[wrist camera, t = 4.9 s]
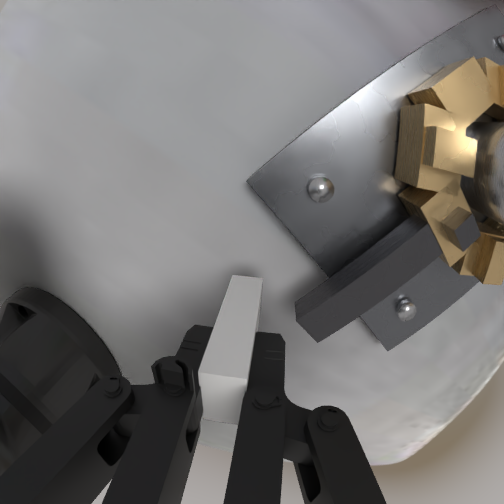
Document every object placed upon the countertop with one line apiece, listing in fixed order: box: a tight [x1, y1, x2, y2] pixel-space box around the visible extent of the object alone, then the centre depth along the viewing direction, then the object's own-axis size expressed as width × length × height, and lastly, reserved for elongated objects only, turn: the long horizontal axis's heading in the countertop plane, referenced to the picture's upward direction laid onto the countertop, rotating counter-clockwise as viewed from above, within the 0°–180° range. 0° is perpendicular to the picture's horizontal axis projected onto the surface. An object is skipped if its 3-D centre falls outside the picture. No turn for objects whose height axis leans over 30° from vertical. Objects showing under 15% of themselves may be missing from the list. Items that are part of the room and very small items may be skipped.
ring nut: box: [295, 57, 504, 343], centre depth 11 cm, size 18×11×4 cm, turn 132°
